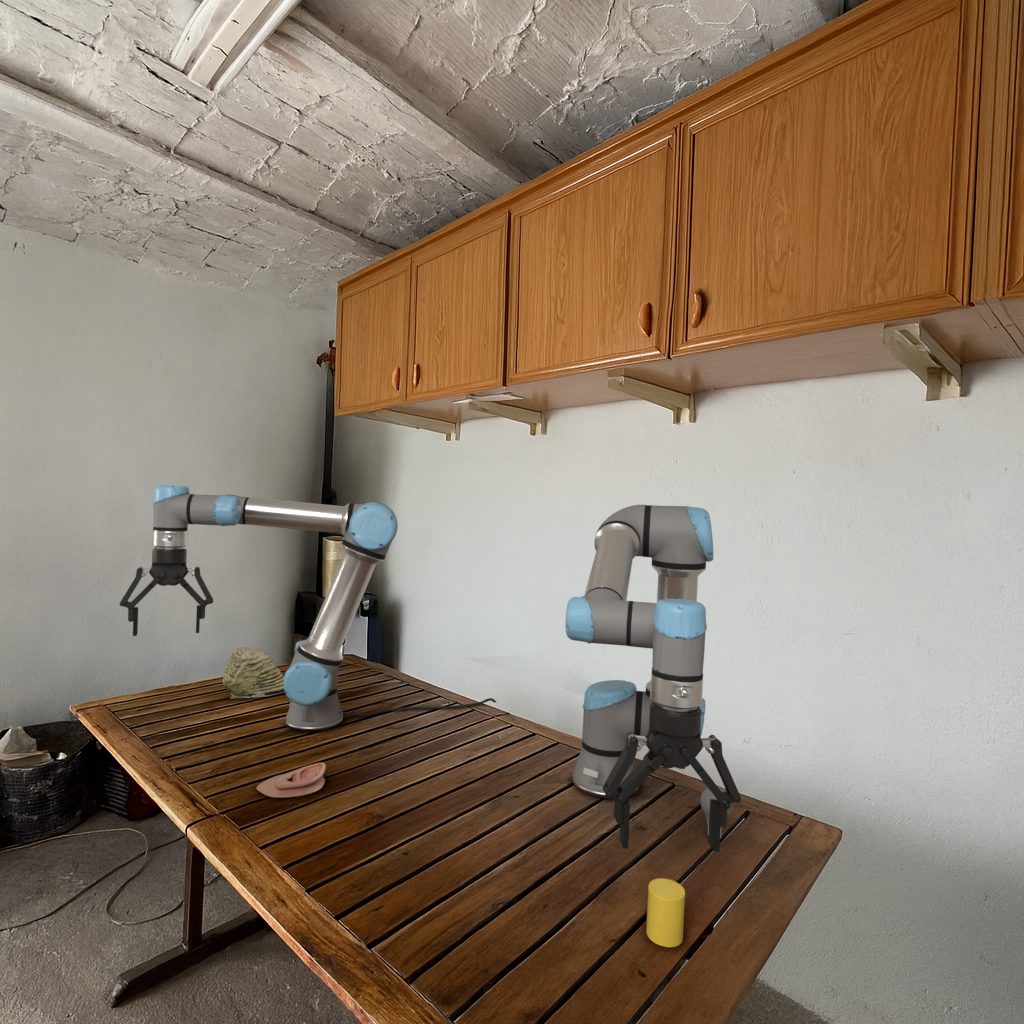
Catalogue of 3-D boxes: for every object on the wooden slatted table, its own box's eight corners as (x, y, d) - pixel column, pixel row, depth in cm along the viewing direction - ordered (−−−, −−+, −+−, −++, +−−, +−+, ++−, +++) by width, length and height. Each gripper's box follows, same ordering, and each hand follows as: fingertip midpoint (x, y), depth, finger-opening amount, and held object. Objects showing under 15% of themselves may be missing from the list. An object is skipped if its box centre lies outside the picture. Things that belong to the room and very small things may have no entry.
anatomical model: (248, 775, 133) (279, 754, 144) (247, 794, 133) (278, 771, 144) (306, 783, 130) (332, 761, 142) (305, 802, 130) (332, 779, 142)
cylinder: (653, 948, 92) (656, 900, 92) (641, 924, 98) (643, 878, 97) (688, 946, 93) (691, 899, 93) (674, 922, 98) (676, 877, 98)
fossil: (218, 695, 195) (220, 647, 195) (278, 685, 208) (279, 640, 207) (228, 703, 189) (230, 653, 188) (289, 692, 201) (290, 645, 201)
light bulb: (693, 829, 126) (696, 780, 126) (722, 829, 127) (725, 780, 127) (705, 846, 121) (708, 794, 120) (735, 846, 121) (738, 794, 121)
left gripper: (108, 548, 147) (105, 639, 148) (225, 549, 158) (222, 633, 159) (112, 546, 154) (109, 632, 155) (224, 546, 165) (221, 627, 166)
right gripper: (596, 709, 91) (589, 856, 91) (768, 715, 91) (761, 861, 91) (588, 693, 98) (582, 829, 98) (748, 699, 99) (741, 834, 99)
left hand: (166, 633), depth 157 cm, fingers open, 13 cm apart
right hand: (668, 845), depth 95 cm, fingers open, 13 cm apart
